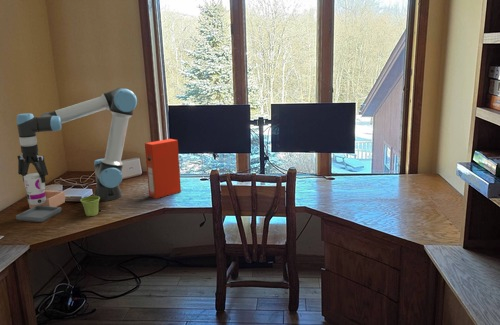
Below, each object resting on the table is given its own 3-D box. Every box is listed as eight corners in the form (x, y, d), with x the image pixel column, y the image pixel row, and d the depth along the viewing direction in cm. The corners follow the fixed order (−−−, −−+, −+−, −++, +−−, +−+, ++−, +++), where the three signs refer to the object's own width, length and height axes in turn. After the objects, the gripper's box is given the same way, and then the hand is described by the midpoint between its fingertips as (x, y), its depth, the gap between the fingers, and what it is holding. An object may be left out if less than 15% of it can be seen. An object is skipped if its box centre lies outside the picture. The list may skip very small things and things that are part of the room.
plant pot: (90, 219, 206) (88, 203, 204) (78, 215, 211) (76, 199, 208) (105, 213, 213) (103, 197, 211) (93, 209, 218) (91, 194, 216)
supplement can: (49, 200, 212) (46, 173, 208) (37, 206, 204) (32, 177, 200) (37, 199, 214) (33, 171, 211) (24, 204, 207) (20, 176, 203)
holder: (65, 201, 232) (64, 191, 230) (50, 209, 219) (48, 199, 218) (46, 200, 234) (44, 190, 233) (29, 208, 222) (27, 197, 221)
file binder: (148, 195, 240) (144, 142, 232) (173, 189, 251) (170, 138, 243) (156, 199, 234) (152, 144, 226) (180, 192, 246) (177, 140, 238)
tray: (61, 211, 217) (61, 207, 216) (42, 222, 202) (41, 217, 202) (37, 209, 220) (37, 205, 219) (16, 220, 206) (15, 215, 205)
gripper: (52, 144, 203) (58, 187, 209) (16, 142, 208) (23, 184, 213) (41, 147, 196) (48, 191, 202) (5, 145, 200) (12, 189, 206)
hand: (35, 188), depth 207 cm, fingers closed on supplement can, 8 cm apart
